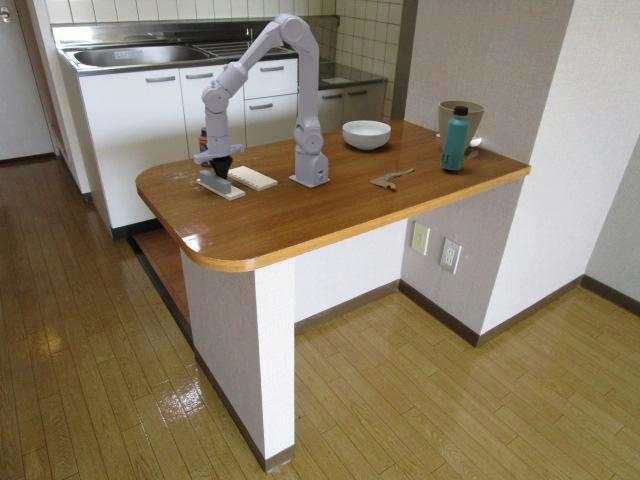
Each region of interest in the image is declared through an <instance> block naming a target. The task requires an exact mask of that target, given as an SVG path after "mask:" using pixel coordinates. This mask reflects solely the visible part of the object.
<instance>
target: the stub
mask: <svg viewBox="0 0 640 480" xmlns="http://www.w3.org/2000/svg"><path fill="white" fill-rule="evenodd" d="M198 174H199V178H197V179H196V183H197V184H199V185H201V186H202V187H204V188H206V189H208V190H209V191H211V192H212V193H215V194H217V195H219V196H221V197H223V199H226V200H227V201H229V202H230V201H233V200H236V199H239V198H242V197H245V196H246V192H245V191H244V190H242V189H240V188H238V187H235V186H234V185H232V182H230V181H228V180H225V179H223V178H221V177H219V176H217V175H216V174H215V173H212V172H210V171H209V170H207V169H203V170H200V171H199V173H198Z"/></svg>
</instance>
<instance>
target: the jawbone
mask: <svg viewBox="0 0 640 480" xmlns="http://www.w3.org/2000/svg"><path fill="white" fill-rule="evenodd" d="M415 170H416V169H415V168H414V167H412V168H409V169H407V170H405V171H400V172H399V171H398V172H390V173H386V174H384V175H381V176H379V177H376V178H375V179H374V178H372V179H370V180H369V183H370V185H374V186H379V187H382V188H383V189H384V190H385V191H388V187H390V189H393V190H395V189H396V184H395V183H393V182H391V181H390V180H393V179H395V177H399V176H403V175H405V174H409V173H412V172H415ZM389 181H390V182H389Z"/></svg>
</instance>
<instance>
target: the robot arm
mask: <svg viewBox="0 0 640 480" xmlns="http://www.w3.org/2000/svg"><path fill="white" fill-rule="evenodd" d="M283 42H285V43H286V44H288V45H290V47H291V48H292V49H293V50H294V51H295V52H296V53H297V54H298V116H297V117H296V120H295V122H296V123H295V126H294V129H293V131H292V137H293V140H294V141H295V142H296V146H295V148H294V151H295V153H294V154H295V155H294V160H295V162H294V166H295V167H294V173H295V174H292V175H290V176H289V177H288V179H289V180H291V181H294V182H296V183H299V184H300V185H303V186H305V187H308V188H311V189H312V188H315V187H317V186H320V185H323V184H325V183H328V182H330V181H331V179H330V178H329V159H328V157H327V156H326V155H324V154H323V153H322V148H323V146H324V137H323V134H322V131H321V125H320V121H319V118H318V117H319V115H318V108H319V107H318V106H319V105H318V103H319V71H320V69H319V68H320V62H319V61H320V47H319V44H318V43H317V41H316V39H315V37H314V35H313V33H312V31H311V28H310V25H309V24H308V23H307V22H305V20H304V19H302V18H301V17H299V16H298V15H292V14H290V13H287V12H282V13H278V14H277V15H276V16H275V17H274V19H273V20H271V21H270V22H269V23H267V25H266V26H265V28H264V29H263V30H262V31H261V32H260V33H259V35H258V36H257V38H256V39H255V40H254V41H253V42H252V43H251V45H250V46H249V48H248V49H247V50H246V51H245V53H244V54H243V55H242V57H240V58H239V60H238V61H231V62H229V63H228V64H227V63H225V64H224V65H223V66H222V69H223V70H222V71H221V72H220V74H218V76H217V77H216V78H215V79H211V80H210V85H208V86H206V87H205V88H204V89H203V90H202V95H201V101H202V102H203V104H204V114H205V116H204V122H205V127H206V132H207V142H208V150H206V151H204V152H202V153H200V152H199V153H198V154H195V155H193V160H194V161H193V162H194V163H195V164H197V165H202V162H206V161H208V162H209V163H210V164H211V166H212V167H211V168H212V169H213V171H214V174H215V175H217V176H219V177H221V178H223V179H225V180H227V179H228V176H227V175H228V171H229V170H230V167H231V165H232V164H233V162H234V160H233V159H234V158H233V157H232V156H231V155H235V154H238V153H241V154H242V153H245V148H244V147H245V146H244V145H243V144H240V143H237V144H231V143H230V130H229V129H230V128H229V118H228V112H227V111H228V110H227V109H228V108H229V103H230V102H229V101H230V99H232V98H234V96H235V95H236V93H238V91H239V90H240V89H241V88H242V87H243V86H244V84H245V83H247V81H248V80H249V71H250V70H251V69H252V68H253V67H254V66H255V65H256V64H257V63H258V62H259V61H260V60H261V59H262V58H263V57H264V56H265V54H267V53H268V51H270V50H271V49H273V48H278V47H279V48H280V47H284V43H283ZM227 181H228V180H227Z"/></svg>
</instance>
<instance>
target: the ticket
mask: <svg viewBox="0 0 640 480" xmlns="http://www.w3.org/2000/svg"><path fill="white" fill-rule="evenodd" d="M228 177H229V178H231V179H232V180H235V181H237V182H239V183H240V184H243V185H245V186H246V187H248V188H251V189H253V190H255V191H256V192H260V191H263V190H266V189H269V188H271V187H274V186H277V185H278V181H277V180H275V179H273V178H271V177H269V176H266V175H264V174H262V173H260V172H258V171H256V170H254V169H251V168H249V167H247V166H245V165H242V166H238V167H234V168H232V169H229V171H228V175H227V178H228Z"/></svg>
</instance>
